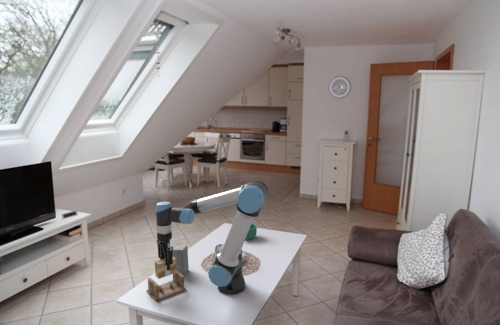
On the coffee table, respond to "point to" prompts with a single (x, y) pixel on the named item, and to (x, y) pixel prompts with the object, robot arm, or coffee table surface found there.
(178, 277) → the peg frame
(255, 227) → the mug
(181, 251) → the skincare box
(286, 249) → the coffee table surface
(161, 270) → the light wooden block
